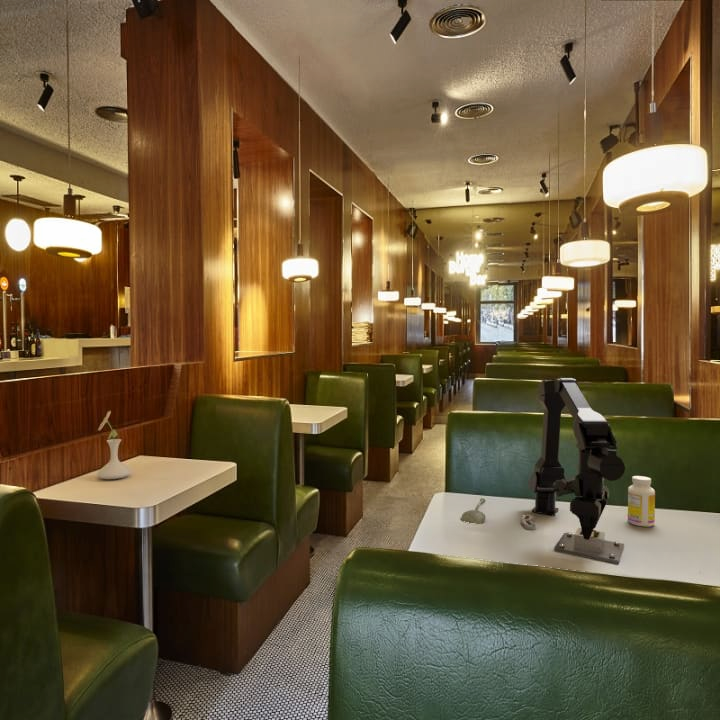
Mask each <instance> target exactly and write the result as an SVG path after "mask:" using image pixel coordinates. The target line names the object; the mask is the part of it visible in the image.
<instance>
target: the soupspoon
mask: <svg viewBox="0 0 720 720" xmlns="http://www.w3.org/2000/svg"><path fill="white" fill-rule="evenodd" d="M483 502H485V503H486V499H485V498H483V497H482V498H481V497H480V499H479V502H478V503H477V505H476V506H475V509H471V510H467V511H465V512H463V513H462V515H461V520H462V522H463V521H465V522H464V523H466V522H469V523H468V524H470V523H476V524H475V525H482V524H484V523H485V521H486V515H485V514H484V512H482V511H480V510H479V508H480V507H481V504H482V503H483Z"/></svg>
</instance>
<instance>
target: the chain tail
mask: <svg viewBox="0 0 720 720" xmlns="http://www.w3.org/2000/svg"><path fill="white" fill-rule="evenodd" d="M533 521H534V515H531V514H525V513H524V514H523V515H522V517H521V518H520V523H521V525H522V526H523V528H524V529H525V530H536V529H537V528H536V527H537V525H536V524H535V523H534V522H533Z"/></svg>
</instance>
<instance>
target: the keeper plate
mask: <svg viewBox="0 0 720 720" xmlns="http://www.w3.org/2000/svg"><path fill="white" fill-rule="evenodd" d="M574 534H575V533H574ZM574 534H573V533H572V532H568V531H567V532H564V533H563V534H562V535H561V536H560V538H559V540H558V541H557V543H556V544H555V546H554V547H553V551H555V552H557V553H558V552H559V553H563V554H567V555H572V556H578V557H582V558H587V559H591V560H597V561H601V562H606V563H610V564H617V565H618V564H619V563H620V560H621V557H622V554H623V552H624V550H625V544H624V543H621V542H620V541H618V540H615V541H612V540H611V541H610V540H605V541H604V546H603V549H602V551H601V552H597V551H592V550H587V549H582V548H577V547H574ZM591 537H594V532H592V534H591Z"/></svg>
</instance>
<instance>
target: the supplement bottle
mask: <svg viewBox="0 0 720 720" xmlns="http://www.w3.org/2000/svg"><path fill="white" fill-rule="evenodd" d="M631 479H632V480H631V481H632V484H631V485H630V486H628V490H627V521H628V522H629V523H630V524H632V525H634V526H638V527H652V526H655V514H656V512H655V511H656V506H655V505H656V491H655V489H654V488H653V487H651V484H652V478H651V477H648V476H643V475H642V476H641V475H633V476H632V477H631Z"/></svg>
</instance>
